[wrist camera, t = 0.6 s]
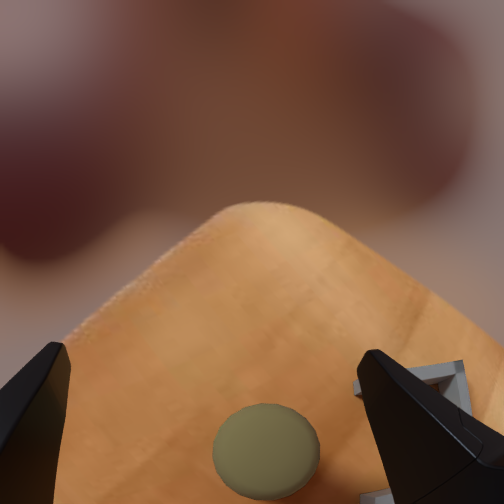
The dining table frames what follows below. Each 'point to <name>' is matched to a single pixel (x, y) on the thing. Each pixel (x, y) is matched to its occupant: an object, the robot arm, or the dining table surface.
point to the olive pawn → (266, 451)
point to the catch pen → (450, 387)
